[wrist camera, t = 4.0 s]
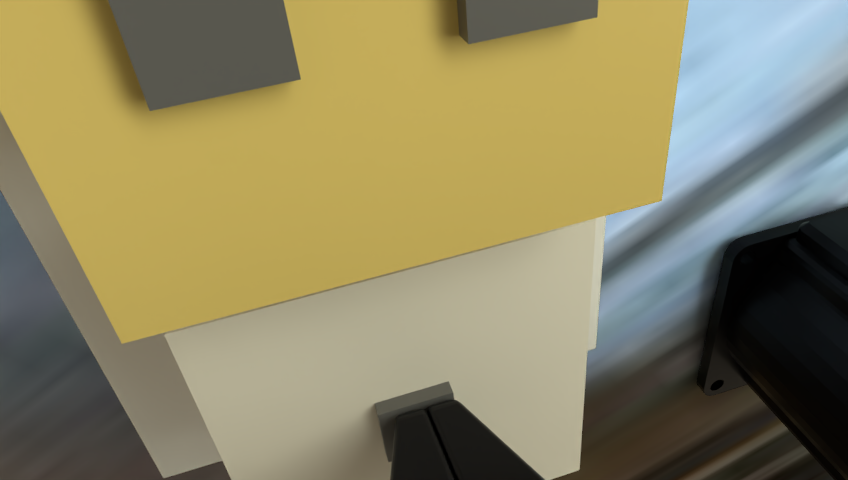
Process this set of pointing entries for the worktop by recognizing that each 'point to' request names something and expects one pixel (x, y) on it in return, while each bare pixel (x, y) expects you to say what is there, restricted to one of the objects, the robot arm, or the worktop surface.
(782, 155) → the worktop surface
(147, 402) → the panel
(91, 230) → the mustard tile
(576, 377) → the cream tile
